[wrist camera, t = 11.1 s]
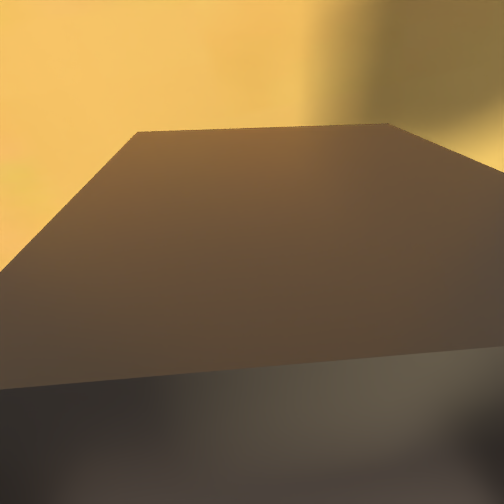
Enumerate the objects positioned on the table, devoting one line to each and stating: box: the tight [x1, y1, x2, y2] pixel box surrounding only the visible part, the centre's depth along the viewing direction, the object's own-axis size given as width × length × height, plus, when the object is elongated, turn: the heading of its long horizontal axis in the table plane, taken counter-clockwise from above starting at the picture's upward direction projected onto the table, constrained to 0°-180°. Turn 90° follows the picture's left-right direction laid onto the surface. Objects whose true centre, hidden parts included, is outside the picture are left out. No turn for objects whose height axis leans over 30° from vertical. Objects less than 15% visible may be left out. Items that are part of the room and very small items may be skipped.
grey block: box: [0, 124, 504, 504], centre depth 8 cm, size 8×8×9 cm
